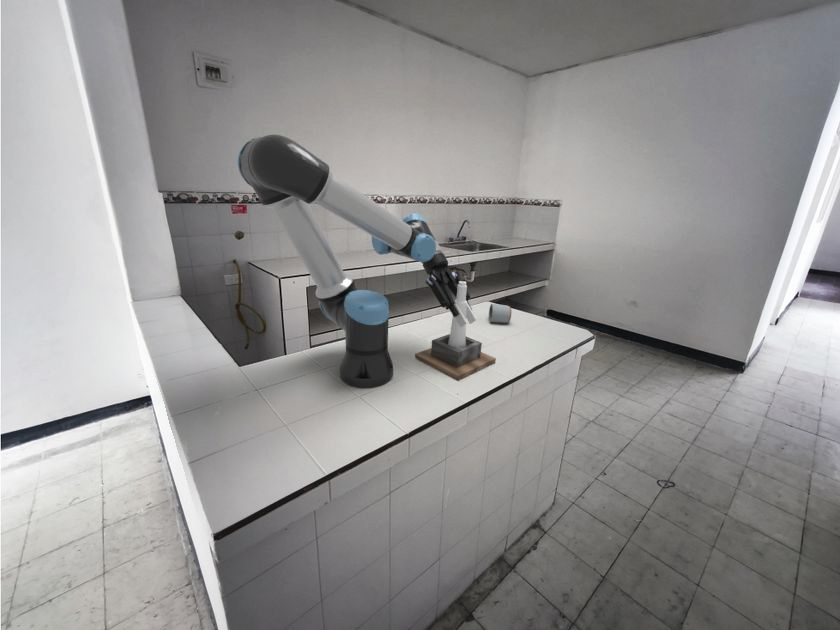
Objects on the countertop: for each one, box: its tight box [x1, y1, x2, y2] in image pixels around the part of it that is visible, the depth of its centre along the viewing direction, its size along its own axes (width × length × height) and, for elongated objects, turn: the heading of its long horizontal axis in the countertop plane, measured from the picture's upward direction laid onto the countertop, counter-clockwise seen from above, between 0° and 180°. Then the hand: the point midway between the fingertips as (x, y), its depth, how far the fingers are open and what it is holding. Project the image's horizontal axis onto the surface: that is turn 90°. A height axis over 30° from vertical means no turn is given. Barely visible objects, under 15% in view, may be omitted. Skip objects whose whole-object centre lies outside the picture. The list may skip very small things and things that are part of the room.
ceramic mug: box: [488, 303, 512, 324], centre depth 152 cm, size 11×8×8 cm
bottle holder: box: [414, 333, 497, 381], centre depth 115 cm, size 18×18×6 cm
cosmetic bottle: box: [448, 280, 468, 349], centre depth 112 cm, size 6×6×22 cm
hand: (468, 323), depth 109 cm, fingers closed on cosmetic bottle, 4 cm apart
